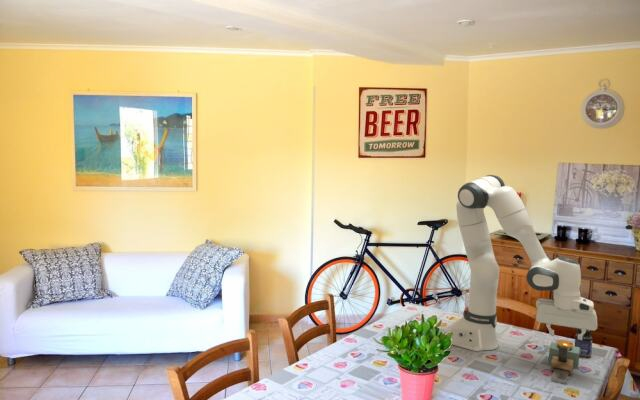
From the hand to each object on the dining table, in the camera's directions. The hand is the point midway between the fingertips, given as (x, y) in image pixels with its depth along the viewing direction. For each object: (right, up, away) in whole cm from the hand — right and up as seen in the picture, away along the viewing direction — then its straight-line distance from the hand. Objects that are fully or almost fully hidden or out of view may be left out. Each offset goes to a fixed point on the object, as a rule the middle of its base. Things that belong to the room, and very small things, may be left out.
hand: (565, 337), depth 180 cm
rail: (-3, -13, -2) cm, 14 cm away
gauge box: (+4, -12, +9) cm, 15 cm away
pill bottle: (+15, -12, +15) cm, 24 cm away
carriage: (-1, -13, +2) cm, 13 cm away
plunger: (+4, -10, +8) cm, 14 cm away
